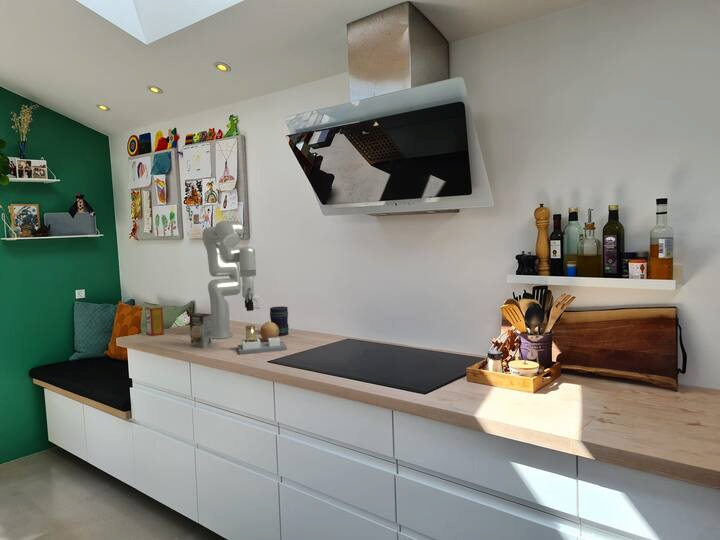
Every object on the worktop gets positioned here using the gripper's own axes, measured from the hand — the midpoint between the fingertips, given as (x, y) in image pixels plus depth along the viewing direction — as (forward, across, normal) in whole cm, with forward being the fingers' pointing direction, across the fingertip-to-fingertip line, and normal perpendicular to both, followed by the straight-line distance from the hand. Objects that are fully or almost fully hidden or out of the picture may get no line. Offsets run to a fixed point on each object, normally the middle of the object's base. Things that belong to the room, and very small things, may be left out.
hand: (249, 309), depth 241 cm
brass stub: (+18, 0, 0) cm, 18 cm away
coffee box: (+20, -19, -23) cm, 36 cm away
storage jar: (+20, -31, +18) cm, 42 cm away
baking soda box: (+21, -63, -49) cm, 83 cm away
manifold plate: (+20, +1, +5) cm, 20 cm away
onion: (+20, -17, +11) cm, 29 cm away
